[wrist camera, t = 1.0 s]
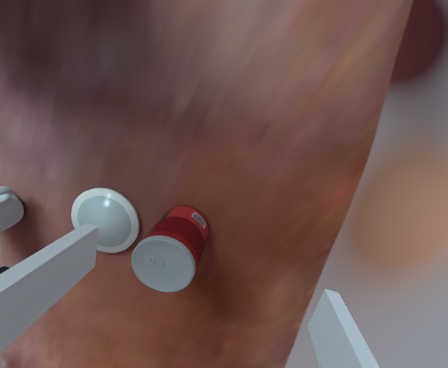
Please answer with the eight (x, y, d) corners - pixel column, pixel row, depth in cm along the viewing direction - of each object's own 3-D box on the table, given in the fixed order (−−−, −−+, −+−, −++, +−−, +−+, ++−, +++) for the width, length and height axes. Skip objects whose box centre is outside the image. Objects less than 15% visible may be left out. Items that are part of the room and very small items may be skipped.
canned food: (165, 200, 35) (130, 232, 25) (212, 208, 35) (197, 244, 24) (162, 241, 37) (129, 286, 27) (206, 249, 37) (191, 298, 26)
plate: (63, 221, 38) (59, 223, 38) (96, 173, 35) (92, 174, 34) (117, 262, 40) (114, 265, 39) (153, 218, 36) (151, 221, 36)
